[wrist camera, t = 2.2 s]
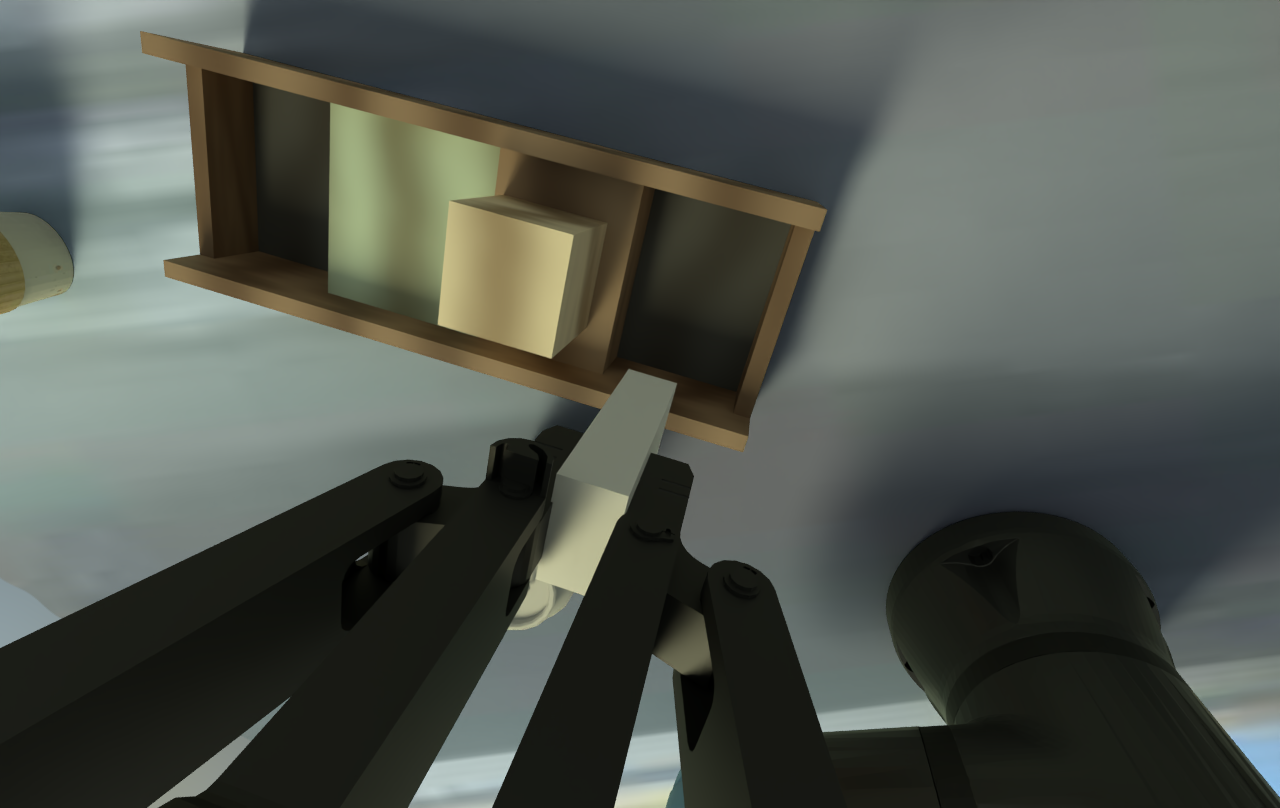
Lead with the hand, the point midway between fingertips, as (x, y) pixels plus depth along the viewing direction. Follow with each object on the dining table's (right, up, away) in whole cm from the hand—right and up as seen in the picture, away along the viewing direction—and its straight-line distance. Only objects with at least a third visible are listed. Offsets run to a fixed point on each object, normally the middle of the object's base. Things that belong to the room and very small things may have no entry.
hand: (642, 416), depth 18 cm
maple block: (-5, +8, +15) cm, 18 cm away
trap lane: (-9, +11, +19) cm, 24 cm away
